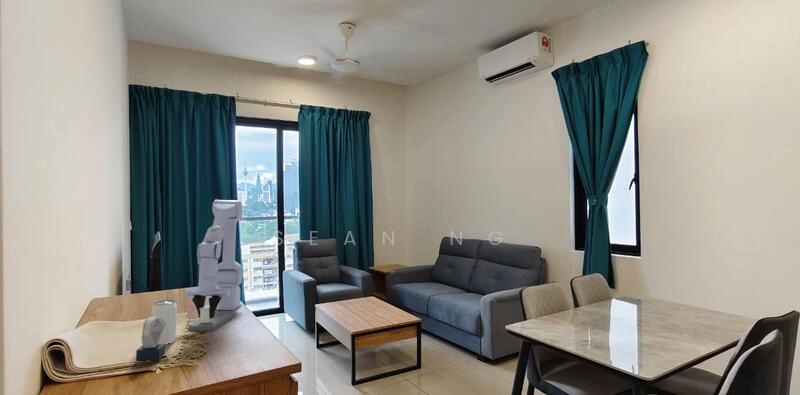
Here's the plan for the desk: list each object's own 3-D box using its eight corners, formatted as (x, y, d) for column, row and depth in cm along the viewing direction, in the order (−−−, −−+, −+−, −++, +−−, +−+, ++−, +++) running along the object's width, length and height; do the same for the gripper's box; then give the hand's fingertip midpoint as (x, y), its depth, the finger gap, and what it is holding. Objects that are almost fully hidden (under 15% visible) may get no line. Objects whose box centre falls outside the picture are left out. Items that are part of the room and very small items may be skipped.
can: (180, 339, 126) (181, 300, 126) (166, 346, 120) (167, 305, 120) (160, 338, 127) (162, 299, 127) (145, 345, 120) (147, 304, 120)
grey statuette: (167, 352, 115) (168, 313, 115) (156, 363, 107) (158, 321, 107) (144, 353, 113) (146, 313, 114) (132, 364, 106) (134, 321, 106)
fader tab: (204, 319, 141) (205, 305, 141) (213, 320, 141) (214, 305, 141) (199, 323, 137) (199, 308, 137) (208, 323, 137) (208, 308, 137)
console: (212, 315, 153) (213, 311, 153) (234, 316, 153) (234, 312, 153) (188, 330, 135) (188, 325, 135) (212, 330, 135) (212, 326, 135)
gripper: (180, 278, 135) (178, 320, 135) (224, 280, 136) (222, 321, 135) (191, 275, 143) (189, 314, 142) (233, 276, 143) (231, 315, 142)
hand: (206, 317), depth 139 cm, fingers closed on fader tab, 3 cm apart
